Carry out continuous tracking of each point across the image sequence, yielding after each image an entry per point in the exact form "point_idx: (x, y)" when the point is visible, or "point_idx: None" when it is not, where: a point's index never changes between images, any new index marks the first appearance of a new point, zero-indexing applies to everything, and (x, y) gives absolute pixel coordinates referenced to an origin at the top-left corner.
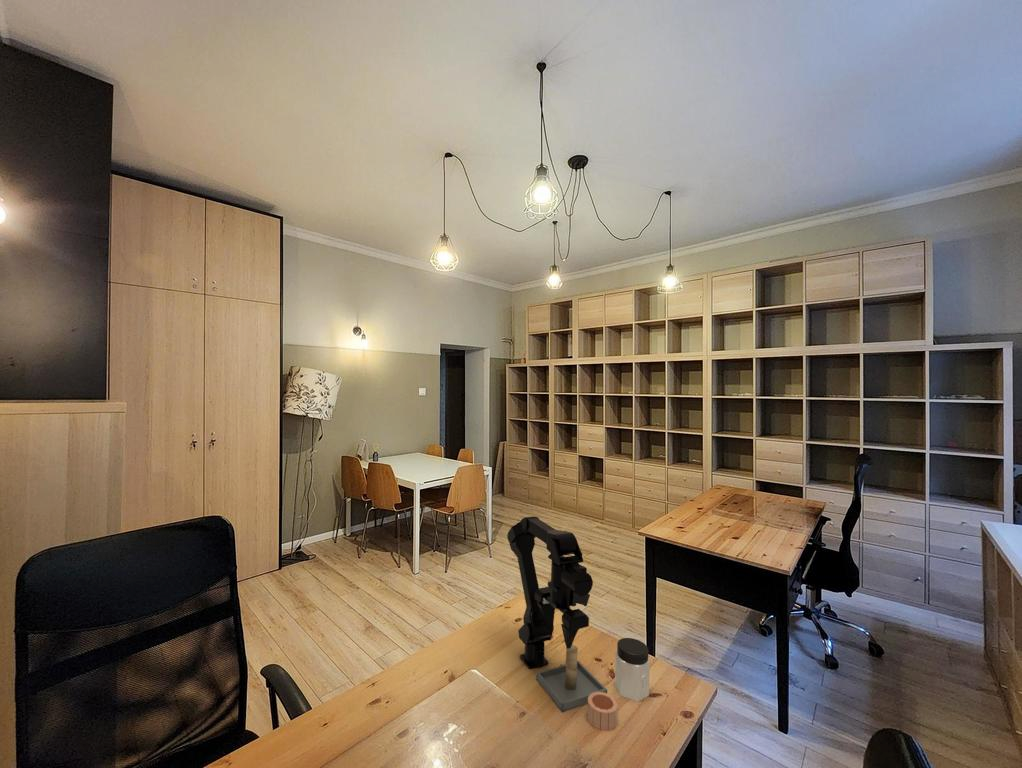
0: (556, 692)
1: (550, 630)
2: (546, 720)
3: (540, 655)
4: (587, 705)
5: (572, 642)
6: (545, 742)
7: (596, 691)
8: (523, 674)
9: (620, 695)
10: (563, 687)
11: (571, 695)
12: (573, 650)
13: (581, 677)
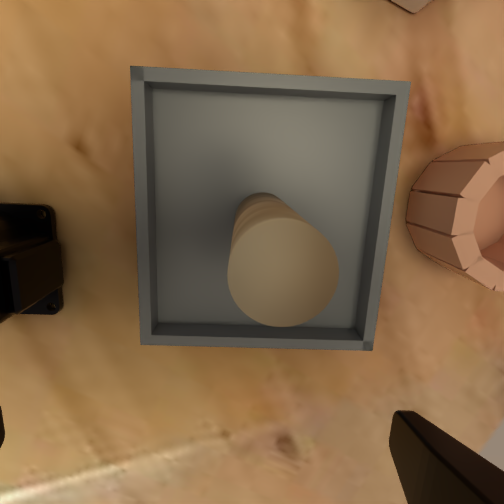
0: None
1: (2, 421)
2: (351, 390)
3: (33, 280)
4: (445, 263)
5: (478, 460)
6: None
7: (390, 150)
8: (87, 348)
9: (419, 9)
10: None
11: None
12: (320, 284)
13: (228, 123)
